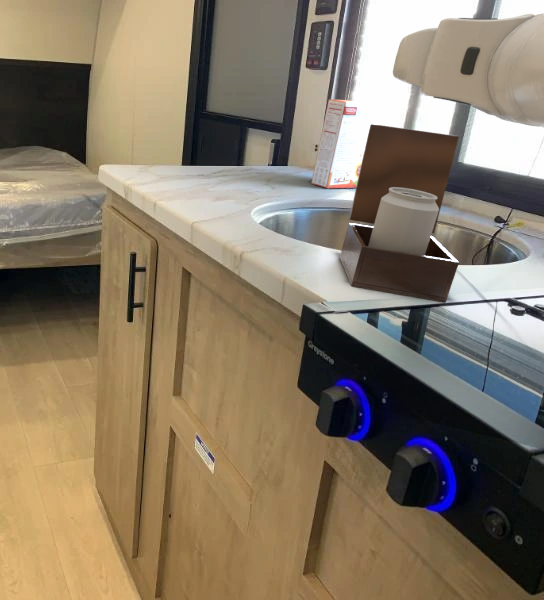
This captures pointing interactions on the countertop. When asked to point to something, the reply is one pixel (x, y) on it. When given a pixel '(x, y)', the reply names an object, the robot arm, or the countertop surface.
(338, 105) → the cracker box
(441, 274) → the chest
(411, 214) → the can
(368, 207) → the lid
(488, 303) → the countertop surface
